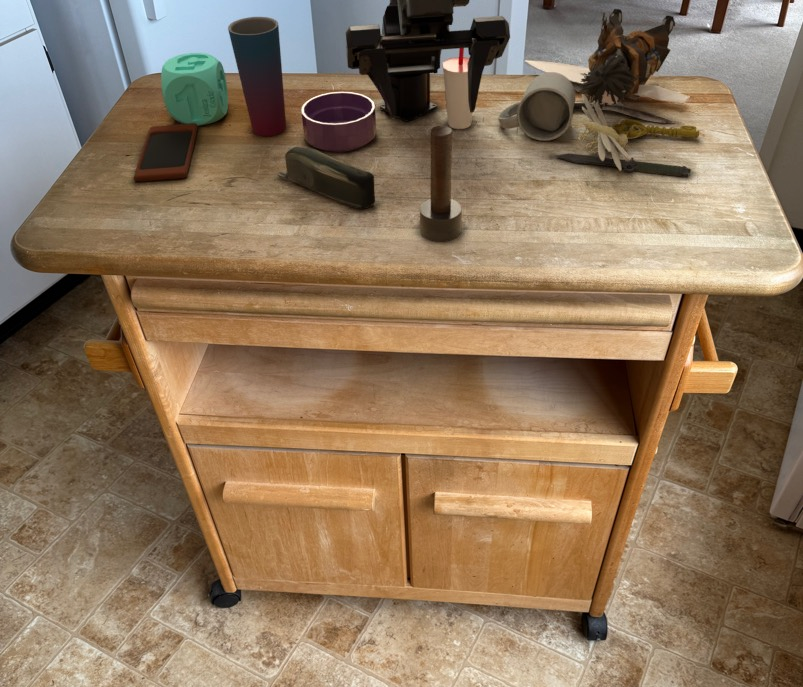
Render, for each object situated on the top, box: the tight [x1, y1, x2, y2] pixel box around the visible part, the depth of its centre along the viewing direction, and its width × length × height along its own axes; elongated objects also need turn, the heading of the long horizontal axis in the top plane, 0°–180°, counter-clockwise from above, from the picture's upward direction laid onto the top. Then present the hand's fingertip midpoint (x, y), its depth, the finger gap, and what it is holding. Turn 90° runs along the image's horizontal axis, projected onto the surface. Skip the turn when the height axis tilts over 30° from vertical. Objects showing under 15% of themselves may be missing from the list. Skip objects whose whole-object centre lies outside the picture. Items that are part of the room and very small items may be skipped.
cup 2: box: [441, 48, 474, 130], centre depth 108 cm, size 5×5×12 cm
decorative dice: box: [160, 52, 229, 127], centre depth 114 cm, size 8×8×8 cm
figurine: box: [578, 8, 676, 107], centre depth 110 cm, size 11×13×30 cm
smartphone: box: [133, 123, 199, 182], centre depth 107 cm, size 7×1×15 cm
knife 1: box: [523, 60, 691, 105], centre depth 119 cm, size 6×28×1 cm, turn 52°
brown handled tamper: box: [419, 125, 463, 242], centre depth 87 cm, size 5×5×13 cm
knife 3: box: [554, 152, 692, 178], centre depth 101 cm, size 18×1×3 cm
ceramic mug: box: [497, 72, 576, 142], centre depth 108 cm, size 11×8×8 cm
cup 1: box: [227, 16, 287, 137], centre depth 108 cm, size 7×7×15 cm
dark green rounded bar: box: [277, 146, 376, 210], centre depth 97 cm, size 5×3×15 cm
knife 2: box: [573, 102, 676, 124], centre depth 112 cm, size 18×1×5 cm
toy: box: [572, 93, 640, 172], centre depth 103 cm, size 15×9×5 cm, turn 8°
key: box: [611, 118, 700, 140], centre depth 107 cm, size 12×1×5 cm
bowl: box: [300, 91, 377, 153], centre depth 109 cm, size 10×10×4 cm
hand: (433, 114), depth 88 cm, fingers open, 9 cm apart
